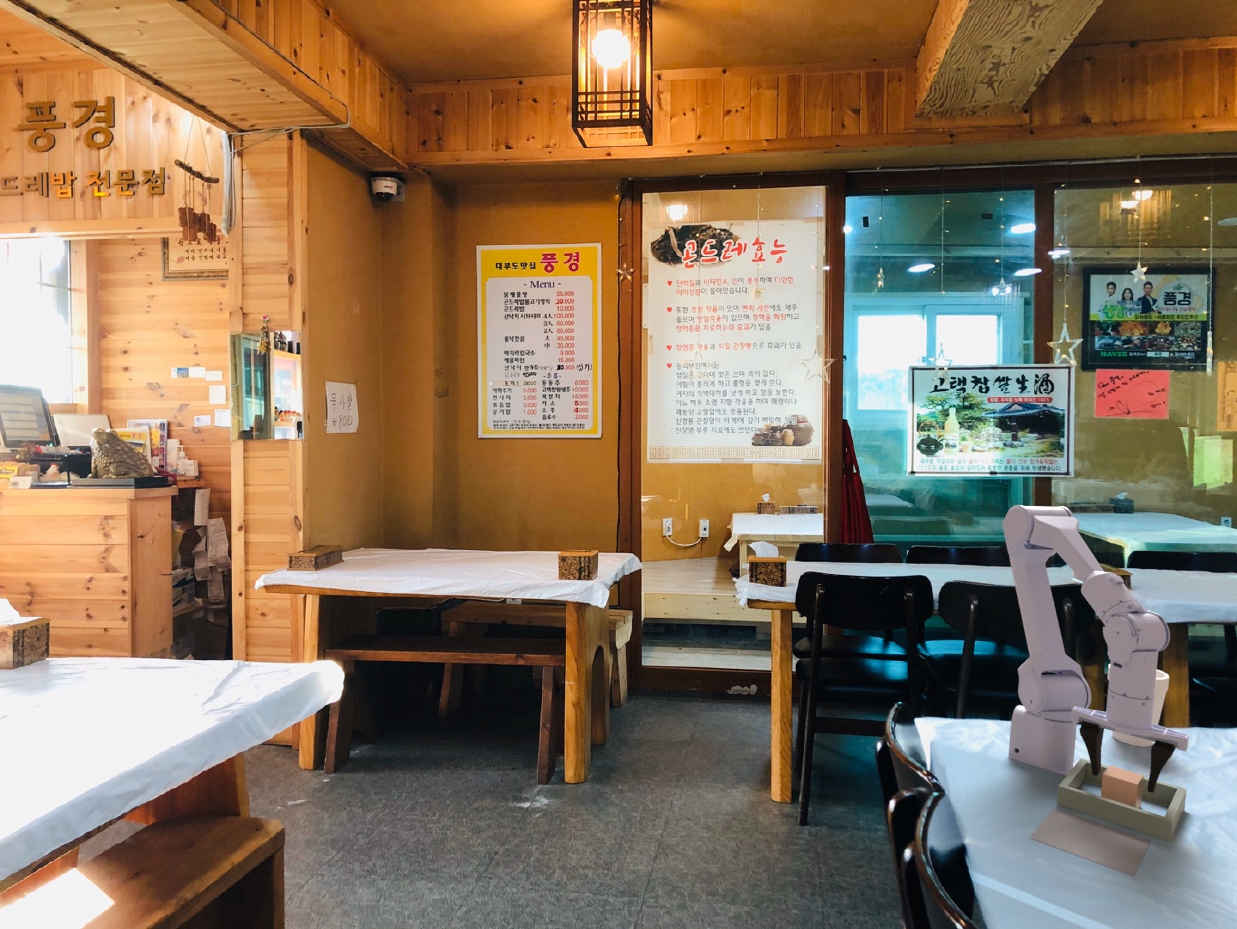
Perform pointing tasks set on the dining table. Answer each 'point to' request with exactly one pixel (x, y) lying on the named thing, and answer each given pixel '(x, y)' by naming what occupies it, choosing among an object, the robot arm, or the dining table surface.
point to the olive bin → (1119, 811)
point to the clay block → (1122, 786)
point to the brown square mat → (1092, 841)
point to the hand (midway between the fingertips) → (1123, 781)
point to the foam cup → (1159, 697)
